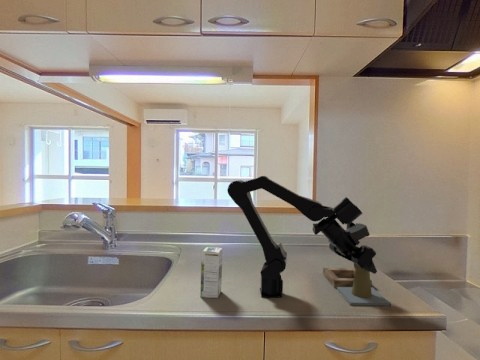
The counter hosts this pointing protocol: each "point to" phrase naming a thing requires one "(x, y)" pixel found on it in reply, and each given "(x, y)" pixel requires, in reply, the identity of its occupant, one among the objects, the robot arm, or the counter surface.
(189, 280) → the counter surface
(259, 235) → the robot arm
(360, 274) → the cork
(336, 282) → the frame
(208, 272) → the syrup box
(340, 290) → the blue gray mat
